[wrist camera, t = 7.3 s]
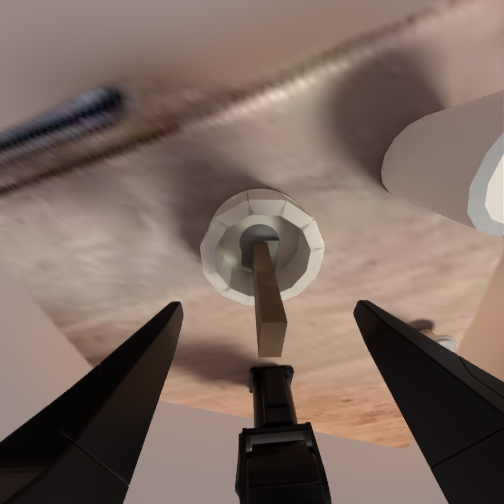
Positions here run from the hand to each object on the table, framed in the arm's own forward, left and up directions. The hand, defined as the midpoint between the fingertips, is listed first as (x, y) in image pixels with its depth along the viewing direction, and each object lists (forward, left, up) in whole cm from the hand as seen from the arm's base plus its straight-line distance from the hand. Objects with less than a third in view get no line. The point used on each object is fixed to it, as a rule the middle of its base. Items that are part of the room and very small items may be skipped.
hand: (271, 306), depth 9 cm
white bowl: (0, 0, -8) cm, 8 cm away
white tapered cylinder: (+7, -12, -9) cm, 16 cm away
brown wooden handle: (-1, 0, -8) cm, 8 cm away
